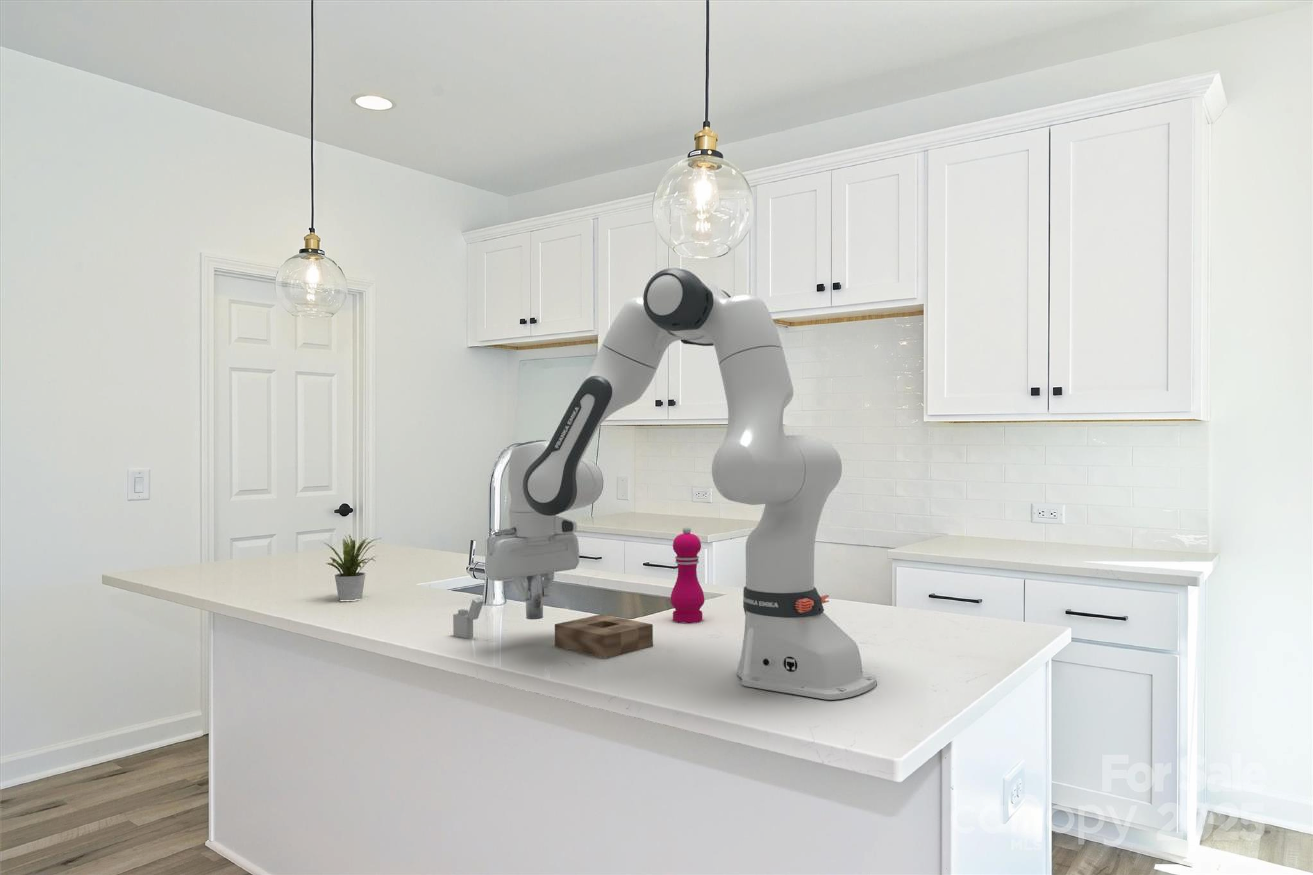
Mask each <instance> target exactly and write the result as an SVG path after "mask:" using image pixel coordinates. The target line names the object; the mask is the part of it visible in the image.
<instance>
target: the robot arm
mask: <svg viewBox="0 0 1313 875" xmlns="http://www.w3.org/2000/svg"><path fill="white" fill-rule="evenodd" d="M677 341H680V342H681V343H682V344H684V345H693V346H694V345H695V346H701V347H712V346H713V347H714V350H715V354H716V357H717V361H718V366H719V370H720V375H721V379H722V384H723V389H724V393H725V398H726V405H727V413H728V414H727V427H726V433H725V437H724V440H723V441H722V444H721V445H720V446H719V448H718V449H717V450H716V452H715V454H714V456H713V459H712V463H711V478H712V481H713V484H714V486H715V489H716V490H717V491H718V493H719V494H720V496H722V498H724V499H726V500H728V501H731V502H736V503H740V504H746V505H750V506H755V505H756V506H757V505H758V506H759V505H764V508H763V511H762V515H761V517H760V519H759V521H758V524H757V525H756V527H754V529H753V530H752V531H751V532H750V533H749V534H748V537H747V538H746V542H745V586H744V587H743V598H742V602H743V603H742V607H743V611H744V616H745V618H744V634H743V642H742V648H741V654H740V659H739V663H738V666H737V668H736V669H737V670H736V675H737V677H739V678H740V679H741V685H742V686H743V687H748V688H756V689H759V690H760V689H762V690H767V691H774V692H779V693H785V694H790V695H791V694H793V695H796V696H805V697H809V698H816V699H822V700H827V701H828V700H829V701H831V700H841V699H847V698H851V697H855V696H858V695H861V694H864V693H866V692H868V691H870V690H872V689H874V687H876V685H877V683H878V681H877V676H876V674H873V673H871V672H868V671H863V665H862V664H863V663H862V658H861V654H860V650H859V646H858V644H857V642H856V641H855V640H854V639H853V638H852V637H851V636H849V635H848V634H847V633H846V632H845V631H844V630H843V629H842V628H841V627H839V626H838V625H837V623H835V622H834V621H833V620H832V618H830V617H829V616H828V615H827V614H826V613H825V612H824V611H825V609H824V608H825V607H824V605H823V604H827V603H829V602H830V600H826V599H828V598H829V597H830V595H829V594H826V595H822V596H820V594H819V592H818V590H817V588H816V587H815V546H816V545H815V544H816V536H817V531H818V527H819V522H820V519H821V516H822V513H823V509H824V507H825V503H826V502H827V499H828V498H829V497H830V496H829V495H830V494H831V493H832V491H833V490H834V489H835V488H836V487H837V486H838V484H839V482H840V480H841V478H842V473H843V472H842V471H843V465H842V464H843V463H842V460H841V459H842V458H841V456H840V453H839V452H838V450H837V449H836V448H835V447H834V445H832V444H831V443H830V442H828V441H826V440H823V439H820V438H818V437H817V438H816V437H814V436H811V435H805V434H804V435H799V434H798V435H793V434H792V435H786V433H785V432H784V431H785V430H784V414H785V413H784V412H785V409H786V408H787V407H788V405H789V404H790V403H791V401H792V400H793V397H794V387H793V383H792V380H791V378H792V377H791V376H790V371H789V367H788V362H787V359H786V356H785V352H784V349H783V345H782V340H781V337H780V335H779V332H778V329H777V326H776V324H775V321H774V320H773V317H772V315H771V312H770V310H769V308H768V307H767V305H766V303H765V301H763V300H762V299H761V298H760V297H758V296H756V295H753V294H746V293H745V294H736V295H732V296H731V295H730V294H729V293H728V292H727V291H725V290H723V289H721V288H719V287H718V286H717V285H715V284H714V283H713V282H711V281H710V280H709V279H706V278H704V277H703V276H701V275H697V274H694V273H693V272H691V271H689V270H687V269H684V268H683V269H682V268H678V267H677V268H675V267H672V268H671V267H670V268H665V269H662V270H660V271H658V272H656V273H655V274H653V276H652V277H651V278H650V279H649V280H648V282H647V283H646V286H645V289H644V291H643V296H635V297H631V298H630V299H628V300H627V301H626V302H625V303H624V305H623V306H622V307H621V309H620V310H619V312H618V313H617V315H616V317H615V318H614V320H613V322H612V323H611V325H610V327H609V329H608V331H607V333H606V335H605V337H604V339H603V341H602V344H601V345H600V348H599V349H598V352H597V354H596V357H595V359H594V360H593V363H592V365H591V367H590V369H589V371H588V373H587V375H586V377H585V378H584V380H583V382H582V383H581V385H580V387H579V389H578V390H577V392H576V393H575V395H574V396H573V398H572V399H571V401H570V404H569V406H568V407H567V409H566V411H565V413H564V414H563V416H562V418H561V421H560V422H559V424H558V426H557V428H556V430H555V432H554V434H553V436H552V437H551V439H550V441H549V440H545V439H539V440H538V439H537V440H534V441H533V440H531V441H526V442H522V443H519V444H517V445H515V446H514V447H513V448H512V450H511V452H510V455H509V462H508V480H507V481H508V491H509V495H510V504H509V507H508V516H509V517H508V520H509V521H508V522H509V524H508V527H509V528H505V529H495V530H493V532H492V533H490V534H489V535H488V537H487V539H486V549H487V550H486V555H485V556H486V557H485V567H484V568H485V569H484V574H485V576H486V577H487V579H488V580H489V581H495V582H501V581H507V580H512V582H513V583H512V584H513V585H514V586H515V588H516V590H517V591H518V600H519V601H520V602H526V601H527V600H530V599H531V597H530V595H531V592H530V591H527V590H526V587H525V584H524V583H526V577H528V576H534V575H539V574H542V587H543V598H549V597H550V588H551V586H552V584H553V581H554V580H555V573H558V572H566V571H570V570H576V569H577V567H578V566H579V565H580V564H579V563H580V546H579V540H578V536H577V535H576V534H575V533H576V532H577V529H578V524H577V521H574V520H572V519H568V518H565V517H562V516H560V515H559V514H562V513H565V512H569V511H572V510H577V509H582V508H585V507H586V508H587V506H590V505H592V504H593V503H595V502H596V501H598V499H599V497H601V495H602V492H603V490H604V489H603V488H604V477H603V473H602V471H601V469H600V467H599V466H598V465H597V464H596V463H595V462H594V461H592V460H590V459H588V458H584V455H585V454H586V452H587V449H588V448H589V446H590V444H591V442H592V440H593V439H594V436H595V434H596V433H597V431H598V429H599V428H600V426H601V425H602V423H603V422H604V421H605V420H607V419H608V418H609V417H610V416H611V415H613V414H614V413H616V412H618V411H619V410H621V409H623V408H625V407H627V406H629V405H632V404H633V403H636V402H637V401H639V400H640V398H641V397H642V396H643V394H644V393H645V392H646V390H647V389H648V387H649V386H650V384H651V382H652V381H653V379H654V377H655V375H656V372H657V370H658V368H659V365H660V363H661V361H662V358H663V356H664V354H665V352H666V350H667V349H668V347H669V346H670V345H671V344H673V343H674V342H677ZM558 515H559V516H558Z"/></svg>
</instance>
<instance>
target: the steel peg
mask: <svg viewBox="0 0 1313 875" xmlns="http://www.w3.org/2000/svg"><path fill="white" fill-rule="evenodd" d="M542 582H543V578H542V574H539V575H534V576H528V577H526V583H525V584H524V586H525V588H526V590H527V591H530V592H531V595H530V597H531V599H530V600H527V601H525V619H527V620H539V619H543V618H544V601H543V600H544V597H543V587H542Z"/></svg>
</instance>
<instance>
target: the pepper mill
mask: <svg viewBox="0 0 1313 875" xmlns="http://www.w3.org/2000/svg"><path fill="white" fill-rule="evenodd" d="M691 532H692V528H691V526H689V525H685V526H683V528H682V533H680V534H678V535H676V537H674V539H673V542H672V549H673V551H674V553H675V554H676V556H675V564H677V577H676V581H675V583H674V586H673V588H672V589H671V590H672V591H671V594H670V604H671V605H672V607H673V608H674V609H675V610H673V612H672V620H673V621H674V620H675V621H677V622H676V623H679V622H685V623H684V624H693V623H692V622H696V623H700V622H702V621H703V611H702V610H700V609H701V608H702V607H703V605H704V604H705V600H706V599H705V595H704V590H703V589H702V586H701V584H700V582H699V579H698V575H697V574H698V573H697V569H698V568H697V566H698V564H699V561H700V560H699V558H700V557H699V556H698V554H699V553H700V551H701V550H702V549H701V548H702V542H701V540H700V538H699V537H698V536H697V535H696V534H694V533H691ZM675 621H674V622H675Z"/></svg>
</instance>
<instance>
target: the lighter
mask: <svg viewBox="0 0 1313 875" xmlns="http://www.w3.org/2000/svg"><path fill="white" fill-rule="evenodd" d="M483 604H484V600H483V599H482V598H481V597H474V598H473V599H472V601H471V604H470V607H469V609H464V608H461V609H458V610H457V613H453V615H452V620H453V621H452V622H453V625H452V626H453V630H452V632H453V635H452V636H453V637H456V638H461V639H471V638H474V620H478V619H479V616H480V613H481V610H482V608H483Z"/></svg>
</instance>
